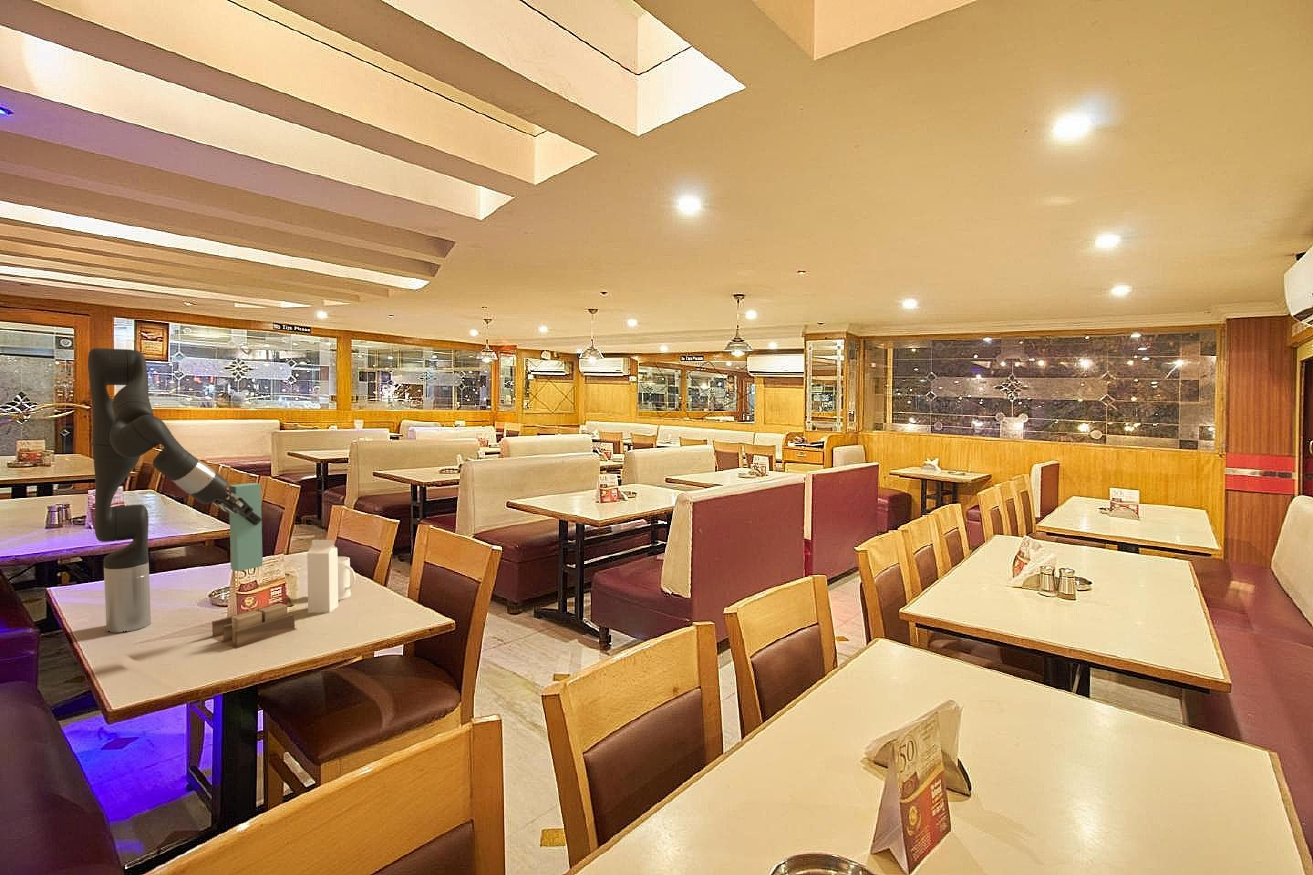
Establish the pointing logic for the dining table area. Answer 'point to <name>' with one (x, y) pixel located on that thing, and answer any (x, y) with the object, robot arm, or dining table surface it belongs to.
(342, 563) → the mug
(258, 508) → the teal rectangular block
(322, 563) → the milk
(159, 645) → the dining table surface
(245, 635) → the rack
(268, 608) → the offcut
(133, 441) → the robot arm
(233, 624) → the offcut
